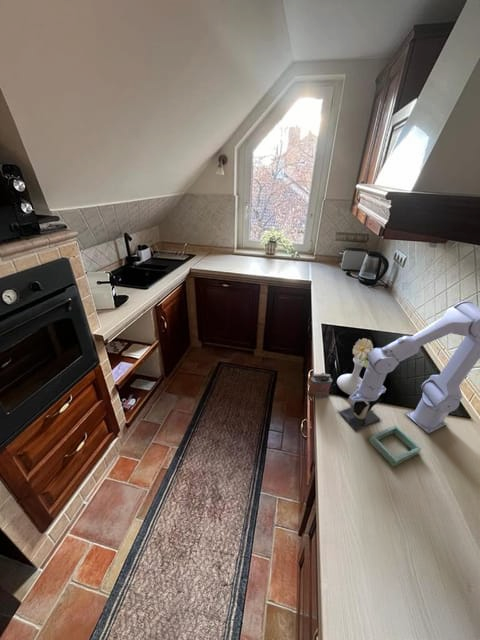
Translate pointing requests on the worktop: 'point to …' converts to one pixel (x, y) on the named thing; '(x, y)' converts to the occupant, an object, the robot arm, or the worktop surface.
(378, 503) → the worktop surface
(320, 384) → the lighter
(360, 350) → the flower in vase
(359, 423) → the slate mat
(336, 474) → the worktop surface
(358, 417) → the shaving stick
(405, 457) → the green rectangular frame
